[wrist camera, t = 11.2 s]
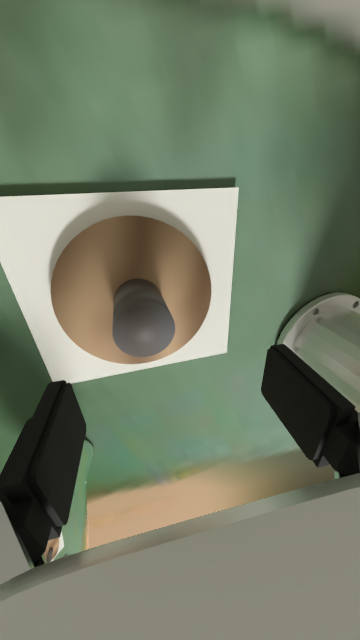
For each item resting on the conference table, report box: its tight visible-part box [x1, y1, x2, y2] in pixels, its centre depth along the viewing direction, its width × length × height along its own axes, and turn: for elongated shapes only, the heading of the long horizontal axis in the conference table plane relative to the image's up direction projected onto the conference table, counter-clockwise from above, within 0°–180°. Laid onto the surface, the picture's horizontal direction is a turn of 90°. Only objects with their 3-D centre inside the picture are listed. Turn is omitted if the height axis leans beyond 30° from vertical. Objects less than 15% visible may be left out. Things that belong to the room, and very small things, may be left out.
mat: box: [0, 187, 239, 383], centre depth 19 cm, size 18×16×1 cm
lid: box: [51, 215, 211, 364], centre depth 17 cm, size 13×13×6 cm
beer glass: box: [43, 439, 94, 563], centre depth 20 cm, size 7×7×15 cm
